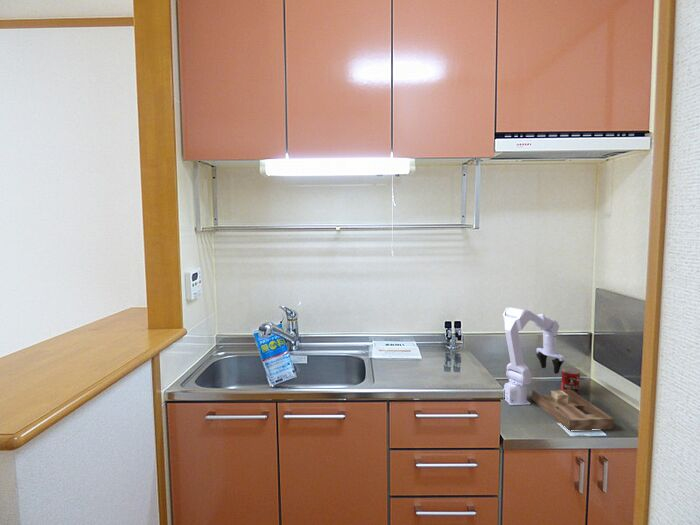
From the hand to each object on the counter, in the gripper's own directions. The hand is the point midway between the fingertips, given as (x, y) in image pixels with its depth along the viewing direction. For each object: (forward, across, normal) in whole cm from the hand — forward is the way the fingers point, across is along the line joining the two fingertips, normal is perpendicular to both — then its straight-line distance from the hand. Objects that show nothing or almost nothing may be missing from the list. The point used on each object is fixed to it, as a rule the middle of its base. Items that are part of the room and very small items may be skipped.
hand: (550, 370), depth 195 cm
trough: (+9, -21, +12) cm, 26 cm away
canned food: (+11, -5, -8) cm, 14 cm away
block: (+8, -14, +10) cm, 19 cm away
